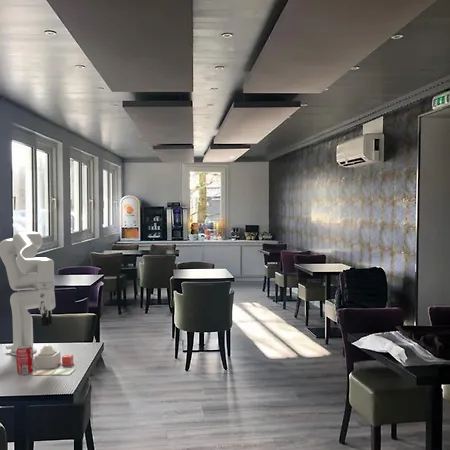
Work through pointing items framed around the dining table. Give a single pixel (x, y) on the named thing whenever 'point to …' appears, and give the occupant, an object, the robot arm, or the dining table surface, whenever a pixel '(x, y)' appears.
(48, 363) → the base
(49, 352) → the dome
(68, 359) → the die
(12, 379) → the dining table surface
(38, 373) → the beige and green board
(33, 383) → the dining table surface
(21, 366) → the soda can
